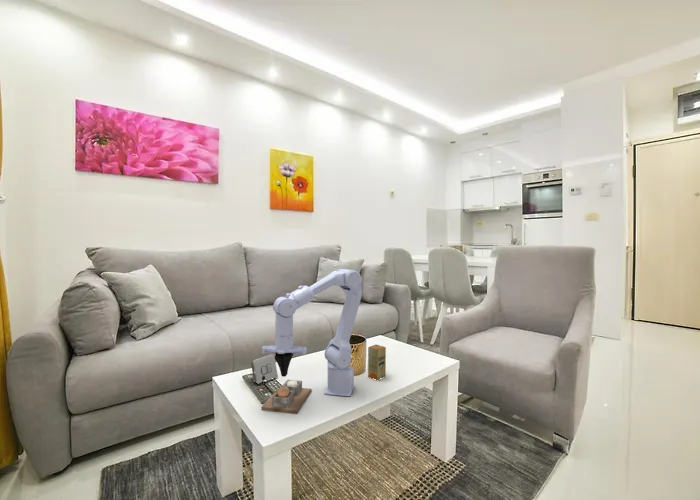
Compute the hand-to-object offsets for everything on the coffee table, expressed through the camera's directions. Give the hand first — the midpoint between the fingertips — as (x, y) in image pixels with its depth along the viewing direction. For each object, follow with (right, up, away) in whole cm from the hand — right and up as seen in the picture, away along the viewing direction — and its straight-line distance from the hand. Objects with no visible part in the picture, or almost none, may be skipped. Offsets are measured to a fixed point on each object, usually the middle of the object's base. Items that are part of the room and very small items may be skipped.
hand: (284, 375), depth 102 cm
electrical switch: (-12, -10, +19) cm, 24 cm away
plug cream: (+1, -8, +7) cm, 11 cm away
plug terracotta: (0, -7, -1) cm, 7 cm away
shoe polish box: (+32, -10, +22) cm, 40 cm away
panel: (+1, -10, +3) cm, 10 cm away
